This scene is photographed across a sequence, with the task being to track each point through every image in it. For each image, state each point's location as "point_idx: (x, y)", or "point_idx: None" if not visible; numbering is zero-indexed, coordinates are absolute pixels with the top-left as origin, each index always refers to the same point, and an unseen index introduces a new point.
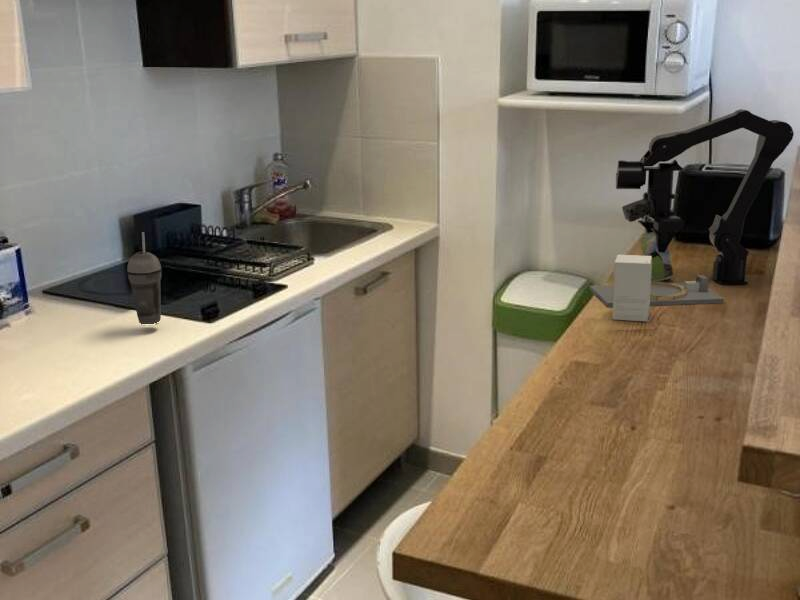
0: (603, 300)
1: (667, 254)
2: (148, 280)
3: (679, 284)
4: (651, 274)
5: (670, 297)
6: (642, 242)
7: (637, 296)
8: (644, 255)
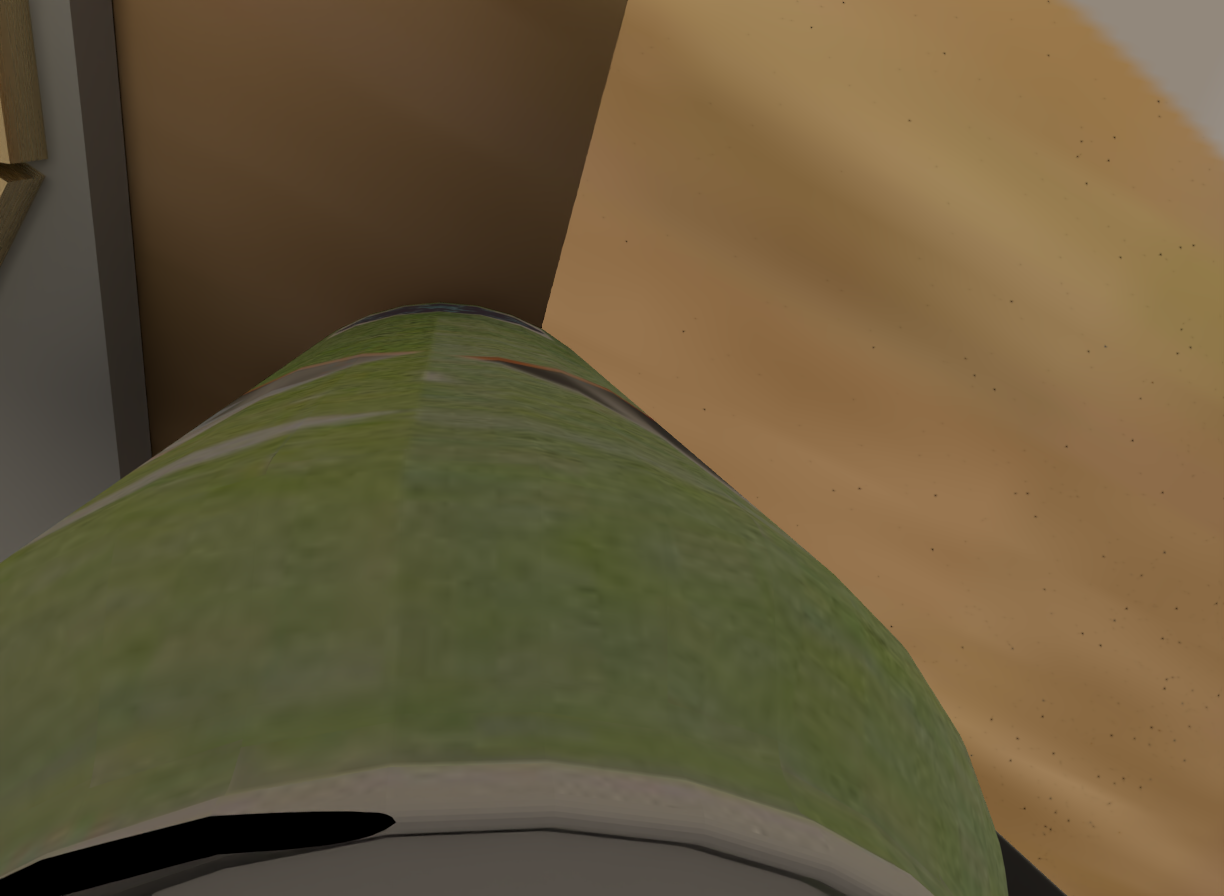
0: None
1: (180, 824)
2: None
3: (17, 544)
4: (343, 329)
5: None
6: (340, 444)
7: None
8: (426, 347)
